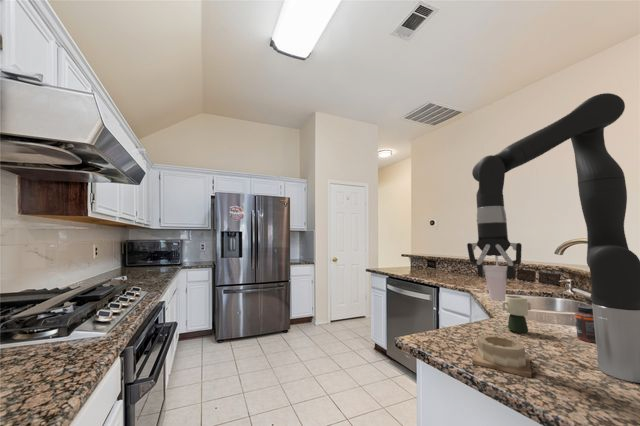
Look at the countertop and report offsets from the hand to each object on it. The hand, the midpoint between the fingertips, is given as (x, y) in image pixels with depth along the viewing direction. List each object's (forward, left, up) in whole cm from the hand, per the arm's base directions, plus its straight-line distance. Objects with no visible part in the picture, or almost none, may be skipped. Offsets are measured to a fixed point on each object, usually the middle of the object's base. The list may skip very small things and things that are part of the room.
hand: (495, 278), depth 79 cm
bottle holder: (0, 0, -23) cm, 23 cm away
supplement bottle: (-24, -39, -24) cm, 51 cm away
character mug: (-4, -35, -24) cm, 42 cm away
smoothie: (0, 0, -6) cm, 6 cm away
